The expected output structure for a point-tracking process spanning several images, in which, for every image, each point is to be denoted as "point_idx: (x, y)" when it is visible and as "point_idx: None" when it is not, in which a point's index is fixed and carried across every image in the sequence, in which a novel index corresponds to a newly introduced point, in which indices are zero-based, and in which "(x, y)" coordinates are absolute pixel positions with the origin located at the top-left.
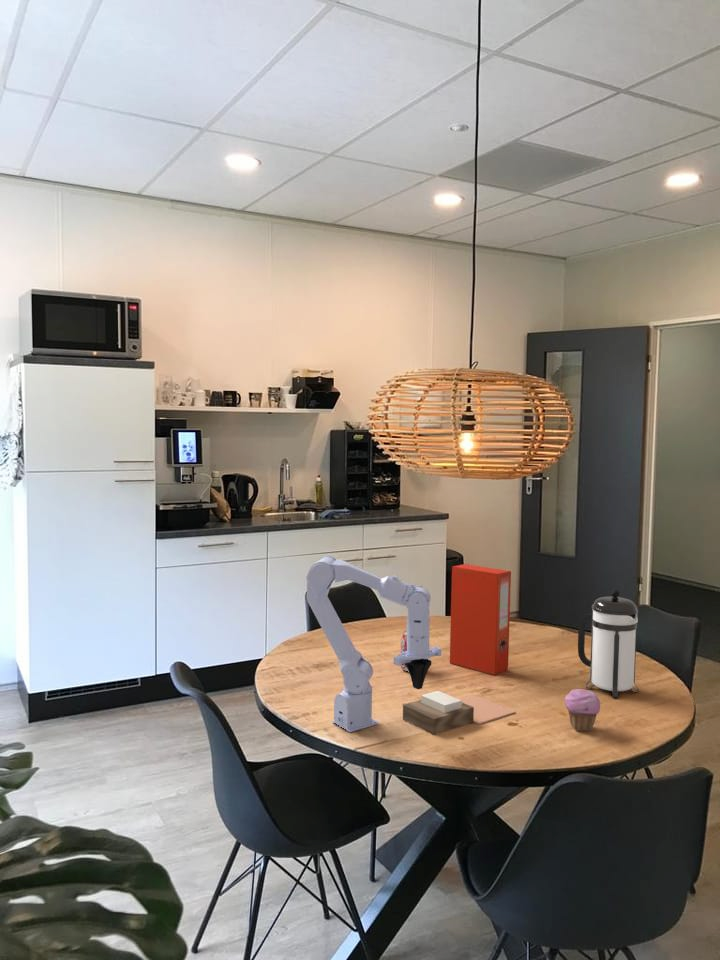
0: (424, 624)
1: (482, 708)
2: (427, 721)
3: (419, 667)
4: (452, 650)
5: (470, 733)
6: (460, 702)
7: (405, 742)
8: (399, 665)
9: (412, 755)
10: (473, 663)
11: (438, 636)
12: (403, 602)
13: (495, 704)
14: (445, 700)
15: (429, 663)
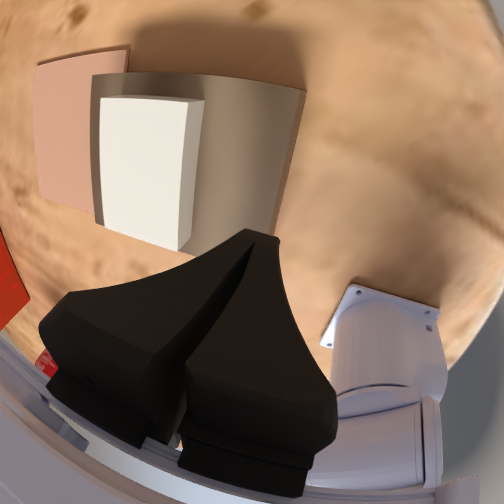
0: None
1: (60, 124)
2: (294, 130)
3: (296, 382)
4: (15, 308)
5: (200, 15)
6: (110, 96)
7: (429, 143)
8: (475, 477)
9: (489, 81)
10: (6, 267)
11: (25, 336)
12: None
13: (35, 124)
14: (142, 141)
15: (82, 322)
